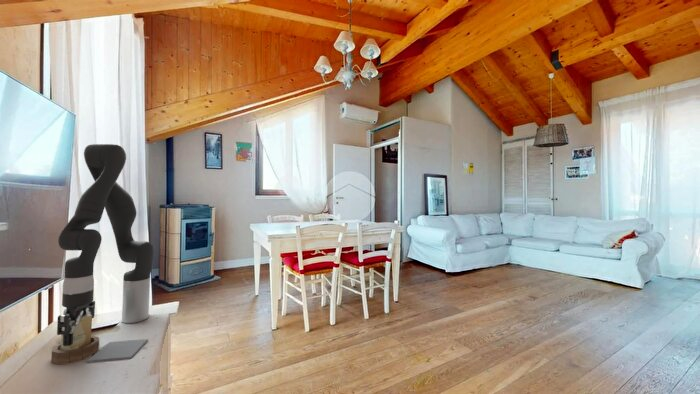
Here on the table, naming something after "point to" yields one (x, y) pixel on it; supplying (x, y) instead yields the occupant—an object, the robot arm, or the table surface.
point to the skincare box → (80, 334)
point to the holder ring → (74, 352)
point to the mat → (118, 350)
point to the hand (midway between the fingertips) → (76, 339)
